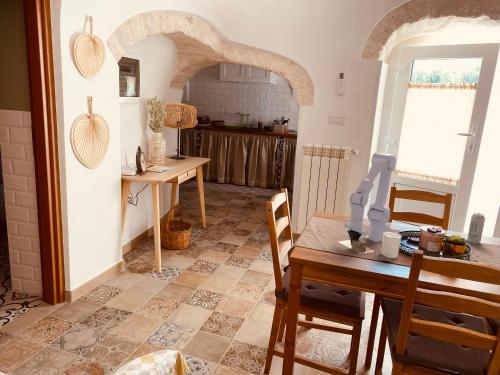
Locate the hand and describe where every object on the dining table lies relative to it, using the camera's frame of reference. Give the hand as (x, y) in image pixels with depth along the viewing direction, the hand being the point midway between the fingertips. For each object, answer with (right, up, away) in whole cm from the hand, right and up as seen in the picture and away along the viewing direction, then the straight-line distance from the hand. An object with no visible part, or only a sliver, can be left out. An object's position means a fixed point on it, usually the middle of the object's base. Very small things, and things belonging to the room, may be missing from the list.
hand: (353, 245), depth 179 cm
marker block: (+1, -2, -3) cm, 4 cm away
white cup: (+15, -4, -6) cm, 16 cm away
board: (+2, -1, +2) cm, 3 cm away
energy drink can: (+67, -1, +17) cm, 69 cm away
